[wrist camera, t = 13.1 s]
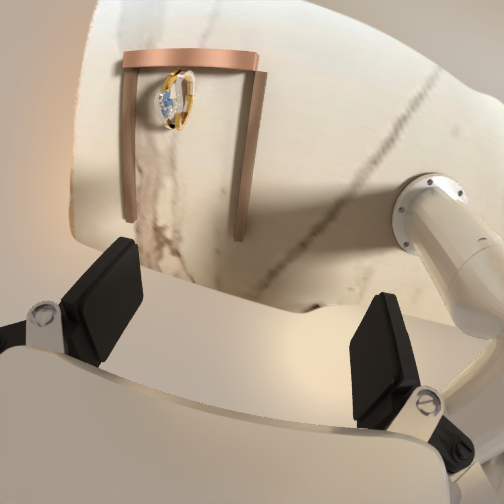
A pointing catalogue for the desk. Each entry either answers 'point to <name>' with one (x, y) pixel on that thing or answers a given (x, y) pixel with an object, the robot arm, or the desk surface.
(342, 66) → the desk surface
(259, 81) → the channel
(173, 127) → the ring
